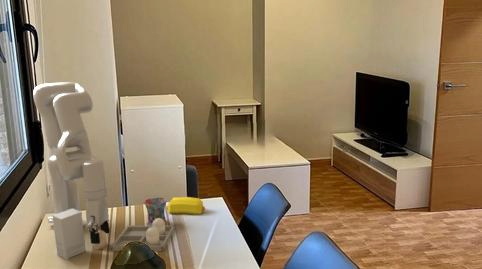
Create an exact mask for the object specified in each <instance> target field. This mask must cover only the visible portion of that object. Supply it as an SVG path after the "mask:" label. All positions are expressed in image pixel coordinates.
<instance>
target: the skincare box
mask: <svg viewBox="0 0 482 269" xmlns="http://www.w3.org/2000/svg"><path fill="white" fill-rule="evenodd" d="M51 217H53V223H52V224H53V226H54V229H53V230H54V238H55V240H54V241H55V245H56V254H57V256H59V257H61V258H63V259H64V260H69V259H70V258H73V257H75V256H77V255H79V254H81V253H85V252H86V251H87V250H86V243H85V233H84V227H83V223H82V220H83V215H82V211H81V210H80V211H78V210H75V209H69V210H67V211H64V212H61V213H58V214H56V213H55V214H53V215H51Z"/></svg>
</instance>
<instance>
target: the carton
mask: <svg viewBox="0 0 482 269" xmlns="http://www.w3.org/2000/svg"><path fill="white" fill-rule="evenodd" d="M151 227H153V226H147V225H126V227H125V228H124V229H123V230H122V231H121V233H120V235H118V237H117V238H116V239H115V240H114V242H112V244H111V245H110V251H111V252H121V251H120V250H121V249H122V248H123V247H124V245H125V244H127V243H129V242H132V241H140V242H144V243H146V231H147V230H148V229H149V228H151ZM175 230H176V227H175V225H165V234H166V235H159V240H160V245H159V246H149V247H151V248H152V249H153V250H154V251H153V252H164V251H165V249H166V247H167V245H168V243H169V242H170V240H171V238H172V236H173V234H174V232H175ZM146 244H147V243H146Z"/></svg>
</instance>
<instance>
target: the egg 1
mask: <svg viewBox="0 0 482 269" xmlns="http://www.w3.org/2000/svg"><path fill="white" fill-rule="evenodd" d="M98 233H99V237H100V243H99V244H93V249H94V250H95V251H97V250H103V249H105V248H107V247H108V239H107V233H105V232H104V231H102V230H101V229H98Z"/></svg>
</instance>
